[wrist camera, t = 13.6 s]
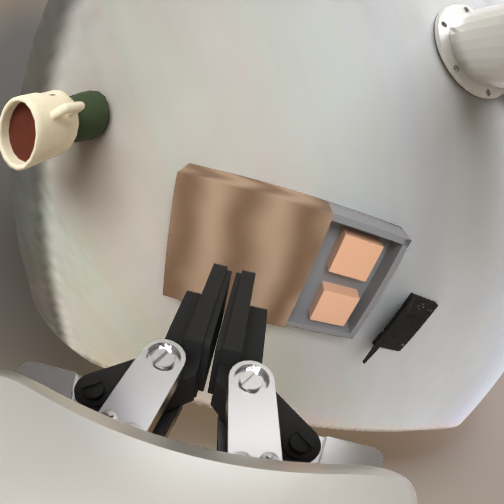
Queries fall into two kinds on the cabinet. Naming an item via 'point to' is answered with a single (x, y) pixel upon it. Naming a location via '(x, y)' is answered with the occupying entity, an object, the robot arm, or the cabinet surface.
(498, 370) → the cabinet surface
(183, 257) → the board
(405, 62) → the cabinet surface
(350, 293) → the tile
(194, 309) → the robot arm
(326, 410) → the cabinet surface
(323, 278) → the box
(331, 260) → the tile
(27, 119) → the character mug
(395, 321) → the black sloped piece
